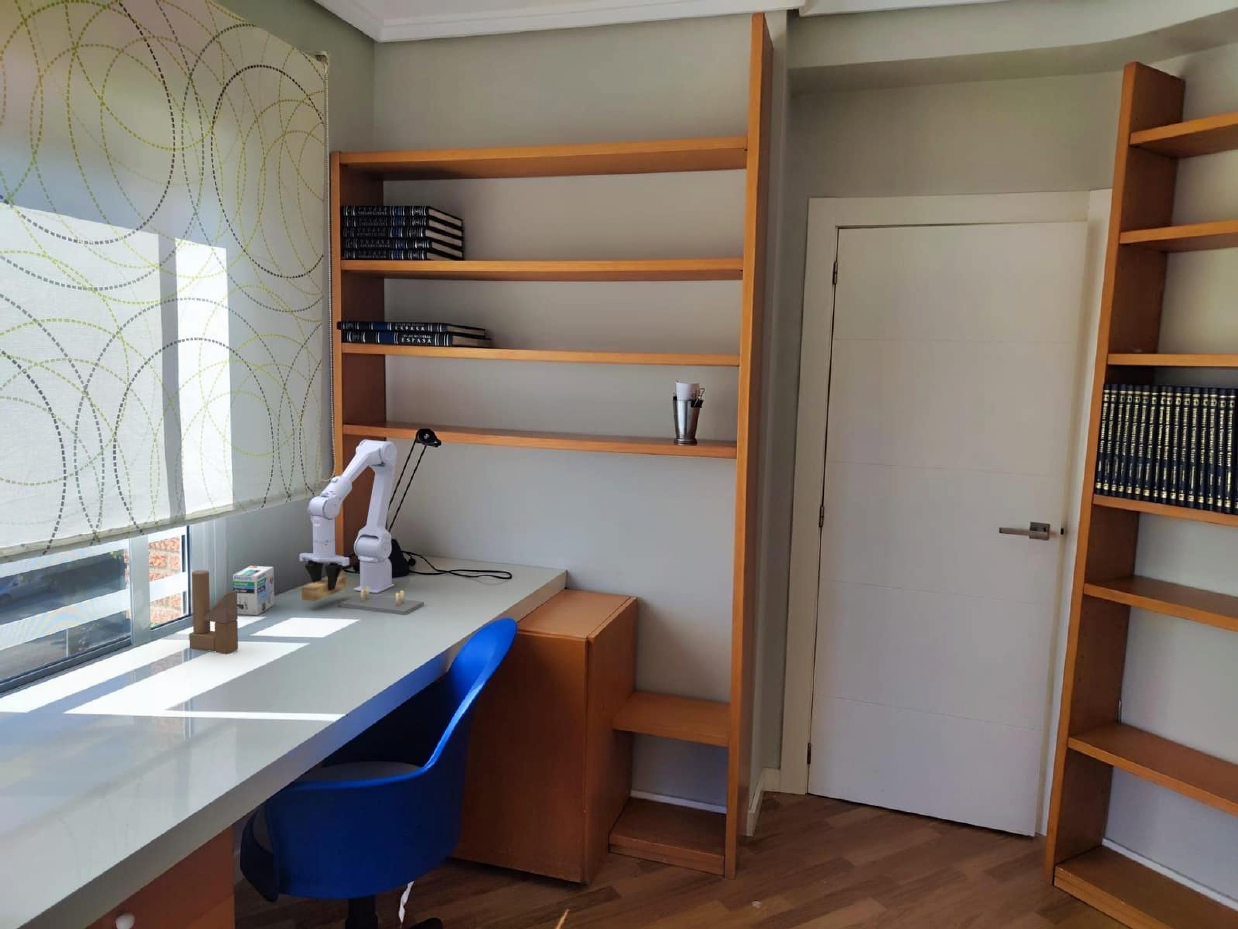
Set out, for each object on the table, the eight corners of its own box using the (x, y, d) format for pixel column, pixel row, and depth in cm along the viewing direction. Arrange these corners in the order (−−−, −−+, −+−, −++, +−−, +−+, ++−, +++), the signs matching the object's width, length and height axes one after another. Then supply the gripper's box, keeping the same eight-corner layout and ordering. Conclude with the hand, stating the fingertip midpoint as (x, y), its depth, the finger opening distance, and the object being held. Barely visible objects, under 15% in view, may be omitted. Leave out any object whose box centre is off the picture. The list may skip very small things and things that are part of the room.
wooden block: (227, 654, 193) (225, 577, 191) (189, 648, 196) (187, 572, 194) (239, 649, 196) (237, 573, 194) (201, 643, 199) (199, 568, 197)
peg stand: (361, 597, 242) (361, 582, 242) (423, 605, 236) (423, 589, 236) (340, 606, 233) (340, 590, 232) (404, 614, 227) (404, 598, 226)
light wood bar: (333, 587, 241) (333, 575, 240) (345, 588, 240) (345, 576, 239) (302, 599, 228) (301, 587, 227) (314, 601, 226) (314, 588, 226)
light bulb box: (258, 616, 222) (257, 575, 221) (232, 615, 222) (231, 574, 221) (275, 604, 233) (274, 566, 231) (250, 603, 233) (250, 565, 232)
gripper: (292, 540, 230) (292, 589, 232) (338, 545, 226) (338, 595, 228) (308, 535, 237) (309, 583, 238) (353, 540, 233) (353, 588, 234)
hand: (324, 588), depth 234 cm, fingers closed on light wood bar, 4 cm apart
